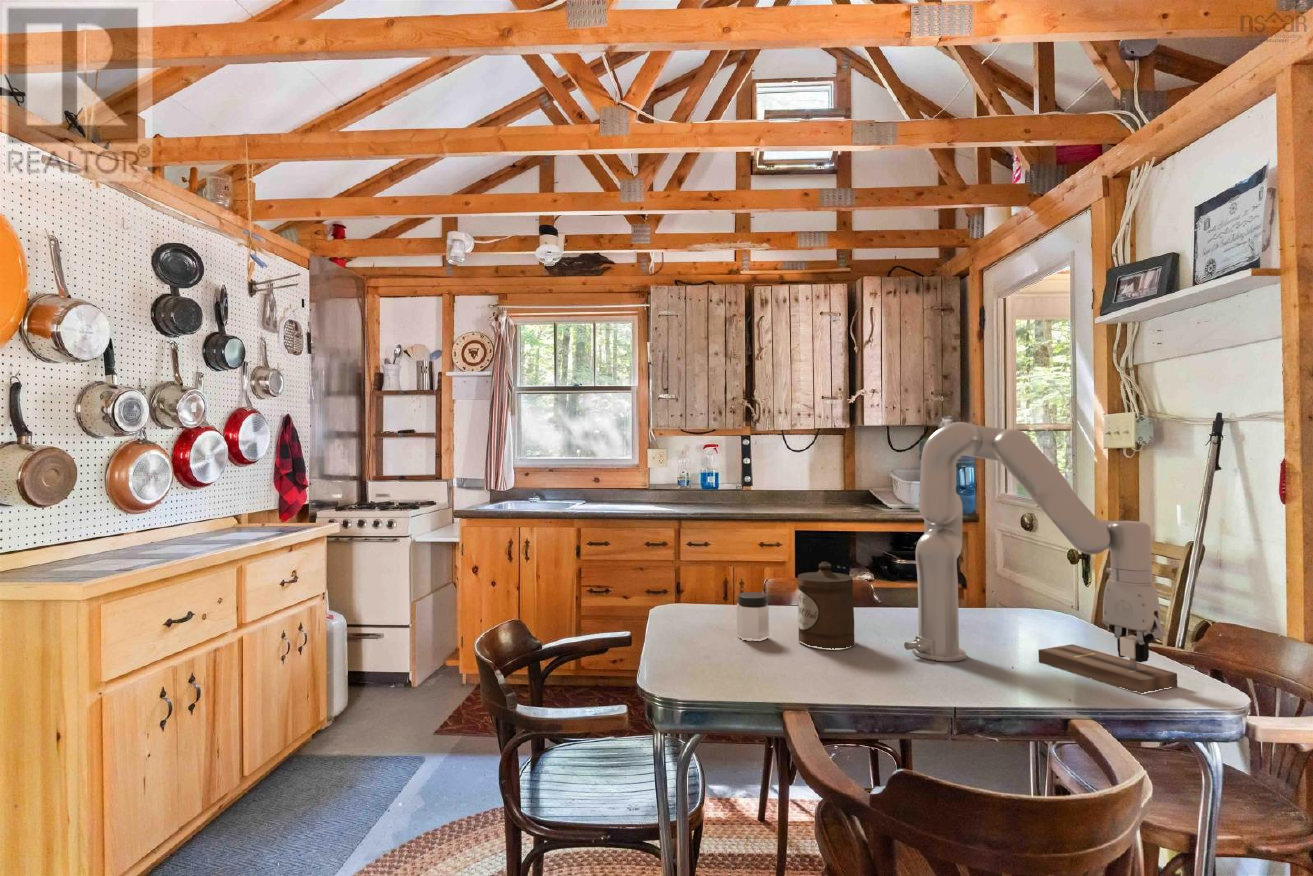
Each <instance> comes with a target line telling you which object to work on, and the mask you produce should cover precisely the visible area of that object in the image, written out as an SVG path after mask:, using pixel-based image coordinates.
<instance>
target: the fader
mask: <svg viewBox="0 0 1313 876" xmlns="http://www.w3.org/2000/svg"><path fill="white" fill-rule="evenodd" d="M1137 643H1138V639H1137V635H1132V634H1131V635H1128V636H1124V637H1120V655H1122V656H1125V657H1124V658H1126V657H1127V658H1129V660H1130V668H1135V669H1136V668H1137V661H1136V647H1135V645H1136V644H1137Z"/></svg>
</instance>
